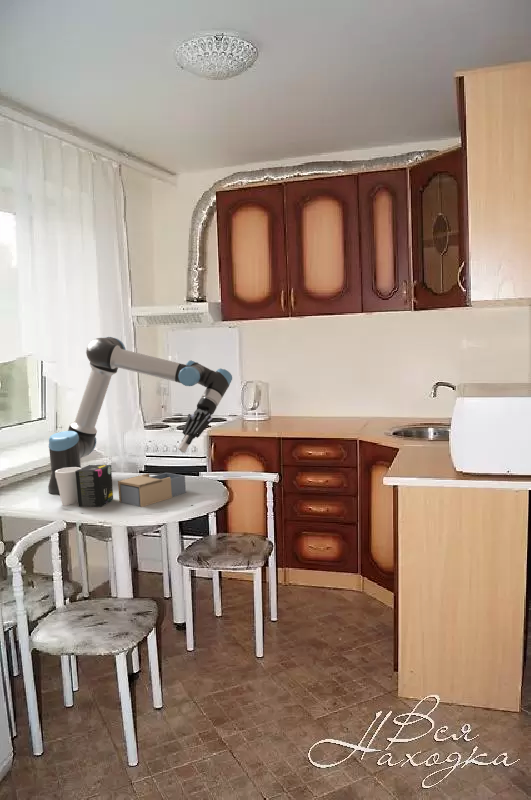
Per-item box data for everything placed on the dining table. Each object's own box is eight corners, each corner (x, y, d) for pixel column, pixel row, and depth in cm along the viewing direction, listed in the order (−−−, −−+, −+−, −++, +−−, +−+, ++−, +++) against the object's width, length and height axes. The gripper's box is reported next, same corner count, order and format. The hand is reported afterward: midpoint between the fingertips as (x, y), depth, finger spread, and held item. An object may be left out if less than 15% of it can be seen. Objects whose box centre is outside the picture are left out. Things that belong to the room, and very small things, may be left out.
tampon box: (101, 511, 231) (98, 470, 230) (77, 510, 233) (74, 470, 232) (114, 502, 242) (111, 464, 240) (91, 502, 244) (88, 464, 242)
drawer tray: (121, 503, 237) (120, 484, 236) (167, 490, 253) (166, 472, 252) (139, 507, 230) (138, 488, 229) (185, 493, 246) (184, 475, 245)
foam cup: (54, 507, 239) (51, 473, 237) (63, 500, 248) (60, 467, 247) (79, 506, 238) (76, 472, 237) (87, 500, 248) (84, 466, 246)
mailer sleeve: (119, 505, 238) (117, 481, 237) (149, 496, 248) (148, 473, 247) (142, 510, 229) (140, 485, 228) (172, 501, 240) (170, 477, 239)
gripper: (225, 408, 260) (198, 457, 250) (202, 407, 269) (175, 454, 258) (215, 397, 256) (187, 446, 245) (192, 396, 264) (164, 443, 254)
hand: (181, 450), depth 252 cm, fingers closed
